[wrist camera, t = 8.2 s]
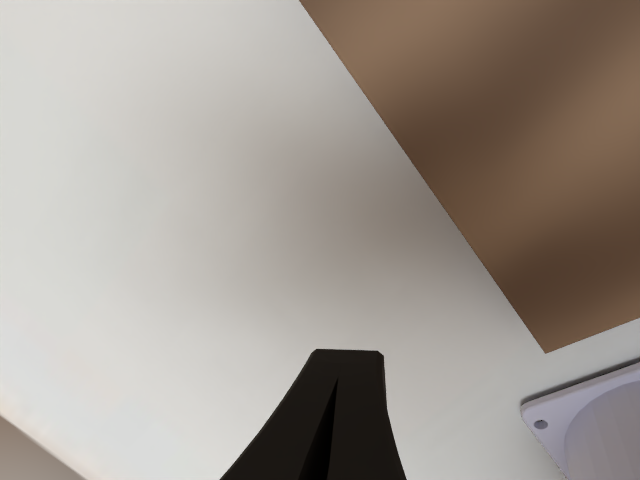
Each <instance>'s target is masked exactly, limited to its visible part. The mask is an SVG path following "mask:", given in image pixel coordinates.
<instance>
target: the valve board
mask: <svg viewBox="0 0 640 480" xmlns="http://www.w3.org/2000/svg"><path fill="white" fill-rule="evenodd" d="M299 1H300V2H301V4H302V5H303V7H304V8H305V9H306V11H307V12H308V14H309V15H310V17H311V18H312V19H313V21H314V22H315V24H316V25H317V27H318V28H319V29H320V31H321V32H322V34H323V35H324V37H325V38H326V40H327V41H328V42H329V44H330V45H331V47H332V48H333V50H334V51H335V52H336V54H337V55H338V57H339V58H340V60H341V61H342V62H343V64H344V65H345V67H346V68H347V70H348V71H349V73H350V74H351V75H352V77H353V78H354V80H355V81H356V83H357V84H358V85H359V87H360V88H361V90H362V91H363V93H364V94H365V95H366V97H367V98H368V100H369V101H370V103H371V104H372V106H373V107H374V108H375V110H376V111H377V113H378V114H379V116H380V117H381V118H382V120H383V121H384V123H385V124H386V126H387V127H388V129H389V130H390V131H391V133H392V134H393V136H394V137H395V139H396V140H397V141H398V143H399V144H400V146H401V147H402V149H403V150H404V151H405V153H406V154H407V156H408V157H409V159H410V160H411V162H412V163H413V164H414V166H415V167H416V169H417V170H418V172H419V173H420V174H421V176H422V177H423V179H424V180H425V182H426V183H427V184H428V186H429V187H430V189H431V190H432V192H433V193H434V195H435V196H436V197H437V199H438V200H439V202H440V203H441V205H442V206H443V207H444V209H445V210H446V212H447V213H448V215H449V216H450V217H451V219H452V220H453V222H454V223H455V225H456V226H457V228H458V229H459V230H460V232H461V233H462V235H463V236H464V238H465V239H466V240H467V242H468V243H469V245H470V246H471V248H472V249H473V250H474V252H475V253H476V255H477V256H478V258H479V259H480V261H481V262H482V263H483V265H484V266H485V268H486V269H487V271H488V272H489V273H490V275H491V276H492V278H493V279H494V281H495V282H496V283H497V285H498V286H499V288H500V289H501V291H502V292H503V294H504V295H505V296H506V298H507V299H508V301H509V302H510V304H511V305H512V306H513V308H514V309H515V311H516V312H517V314H518V315H519V317H520V318H521V319H522V321H523V322H524V324H525V325H526V327H527V328H528V329H529V331H530V332H531V334H532V335H533V337H534V338H535V339H536V341H537V342H538V344H539V345H540V347H541V348H542V350H543V351H544V352H545V354H546V353H549V352H551V351H554V350H557V349H559V348H562V347H564V346H567V345H570V344H572V343H575V342H577V341H580V340H583V339H585V338H588V337H590V336H593V335H596V334H598V333H601V332H603V331H606V330H609V329H611V328H614V327H616V326H619V325H622V324H624V323H627V322H629V321H632V320H635V319H637V318H640V0H299Z"/></svg>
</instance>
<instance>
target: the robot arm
mask: <svg viewBox="0 0 640 480" xmlns="http://www.w3.org/2000/svg"><path fill="white" fill-rule="evenodd" d="M520 411H521V417H522V419H523V421H524V422H525V423H526V425H527V426H528V427H529V429H530V430H531V431H532V433H533V434H534V435H535V437H536V438H537V439H538V441H539V442H540V443H541V445H542V446H543V447H544V448H545V450H546V451H547V452H548V454H549V455H550V456H551V458H552V459H553V460H554V462H555V463H556V464H557V466H558V467H559V468H560V470H561V471H562V472H563V474H564V475H565V476H566V477H567V479H568V480H640V362H639V363H636V364H633V365H631V366H628V367H625V368H622V369H619V370H616V371H614V372H611V373H608V374H605V375H602V376H599V377H597V378H594V379H591V380H588V381H585V382H582V383H580V384H577V385H574V386H571V387H568V388H565V389H563V390H560V391H557V392H554V393H551V394H548V395H546V396H543V397H540V398H537V399H534V400H531V401H529V402H526V403H525V404H523V405H522V407H521V410H520ZM538 420H544V421H541V422H538ZM220 480H407V479H406V476H405V473H404V470H403V467H402V464H401V461H400V458H399V454H398V451H397V447H396V444H395V440H394V436H393V432H392V428H391V424H390V420H389V416H388V411H387V401H386V385H385V369H384V356H383V355H382V354H381V353H380V352H379V351H367V350H334V349H316V350H315V351H313V352H312V353H311V355H310V357H309V358H308V360H307V362H306V364H305V365H304V367H303V368H302V370H301V372H300V373H299V375H298V377H297V378H296V380H295V381H294V383H293V384H292V386H291V387H290V389H289V390H288V392H287V393H286V395H285V396H284V398H283V399H282V401H281V402H280V404H279V405H278V406H277V408H276V409H275V411H274V412H273V413H272V415H271V416H270V418H269V419H268V420H267V422H266V423H265V425H264V426H263V427H262V429H261V430H260V431H259V433H258V434H257V435H256V436H255V438H254V439H253V440H252V441H251V443H250V444H249V445H248V446H247V448H246V449H245V450H244V451H243V452H242V454H241V455H240V456H239V457H238V459H237V460H236V461H235V462H234V464H233V465H232V466H231V467H230V468H229V469H228V471H227V472H226V473H225V474H224V475H223V476H222V477H221V479H220Z"/></svg>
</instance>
